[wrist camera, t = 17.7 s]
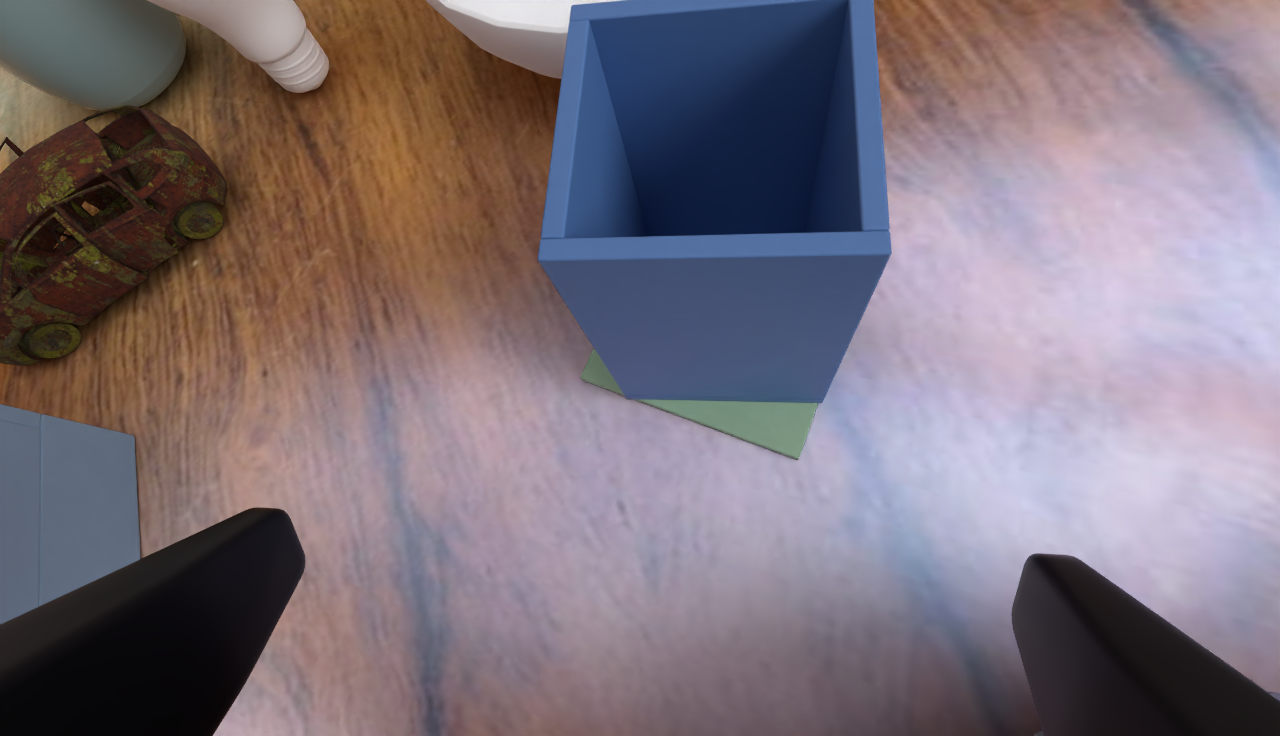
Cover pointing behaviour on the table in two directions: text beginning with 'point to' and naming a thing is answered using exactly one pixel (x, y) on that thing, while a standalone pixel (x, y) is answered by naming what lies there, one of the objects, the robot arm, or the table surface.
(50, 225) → the toy car
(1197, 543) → the table surface
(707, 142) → the upper bin
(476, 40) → the bowl
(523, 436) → the table surface
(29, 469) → the lower bin
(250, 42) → the lightbulb
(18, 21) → the cup
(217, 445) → the table surface
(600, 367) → the mat
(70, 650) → the robot arm
